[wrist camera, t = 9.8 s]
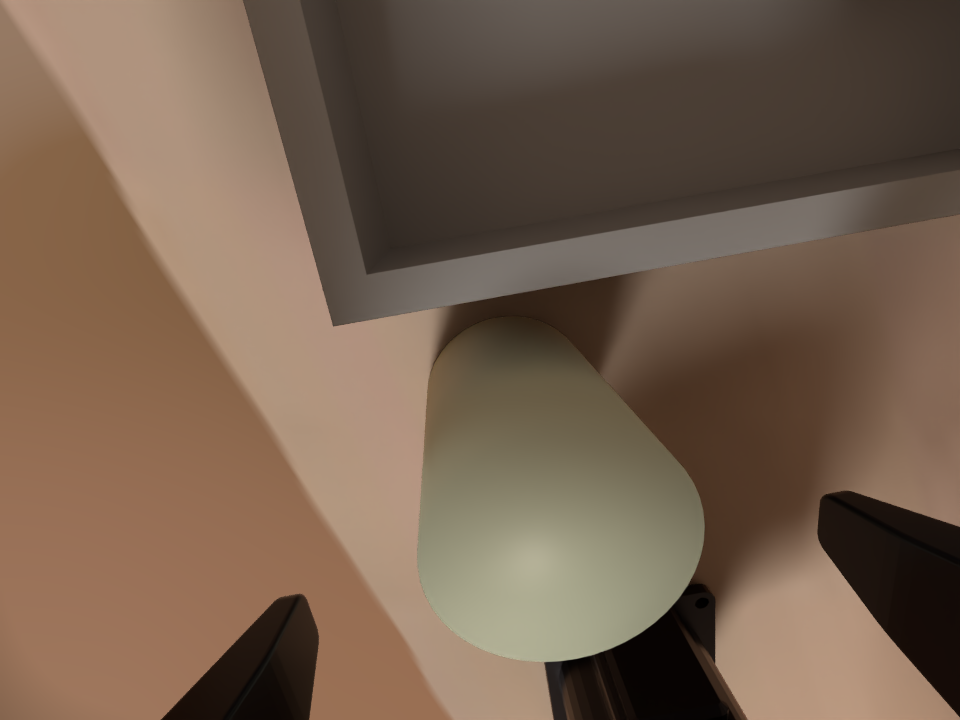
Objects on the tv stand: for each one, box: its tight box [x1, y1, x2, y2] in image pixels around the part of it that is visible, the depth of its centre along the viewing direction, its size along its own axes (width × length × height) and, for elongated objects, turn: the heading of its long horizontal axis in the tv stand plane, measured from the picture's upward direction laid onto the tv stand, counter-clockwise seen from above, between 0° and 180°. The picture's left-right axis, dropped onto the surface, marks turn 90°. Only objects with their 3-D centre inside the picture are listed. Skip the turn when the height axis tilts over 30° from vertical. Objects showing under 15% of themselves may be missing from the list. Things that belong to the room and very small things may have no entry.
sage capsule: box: [417, 316, 705, 662], centre depth 12 cm, size 5×5×7 cm
